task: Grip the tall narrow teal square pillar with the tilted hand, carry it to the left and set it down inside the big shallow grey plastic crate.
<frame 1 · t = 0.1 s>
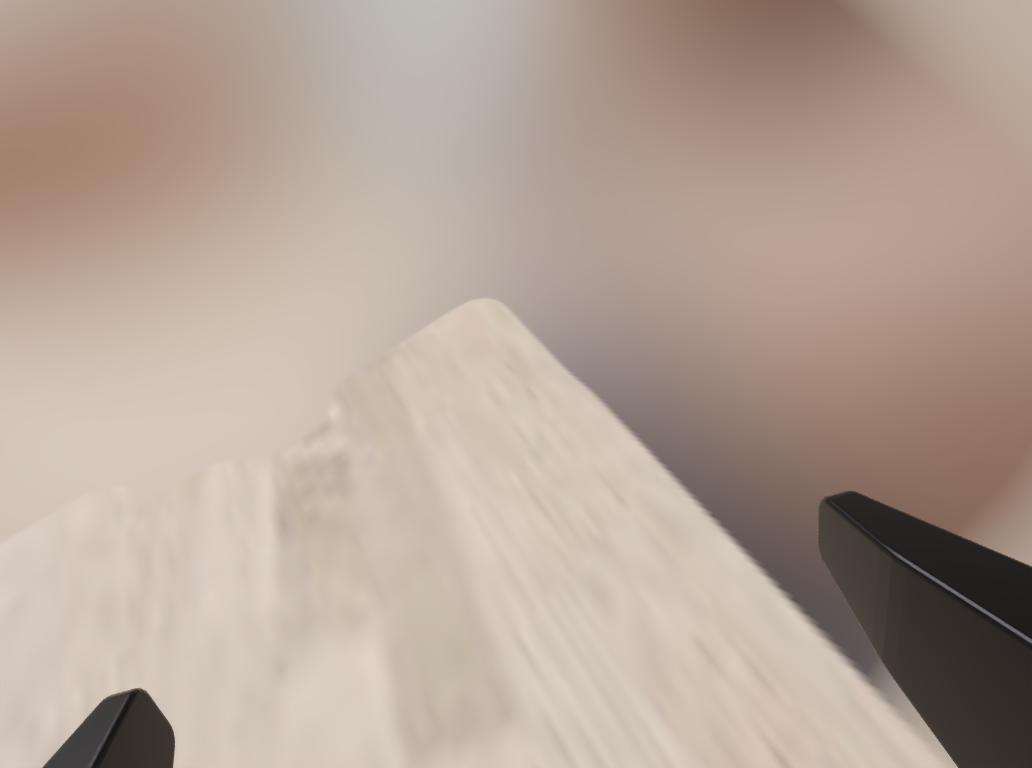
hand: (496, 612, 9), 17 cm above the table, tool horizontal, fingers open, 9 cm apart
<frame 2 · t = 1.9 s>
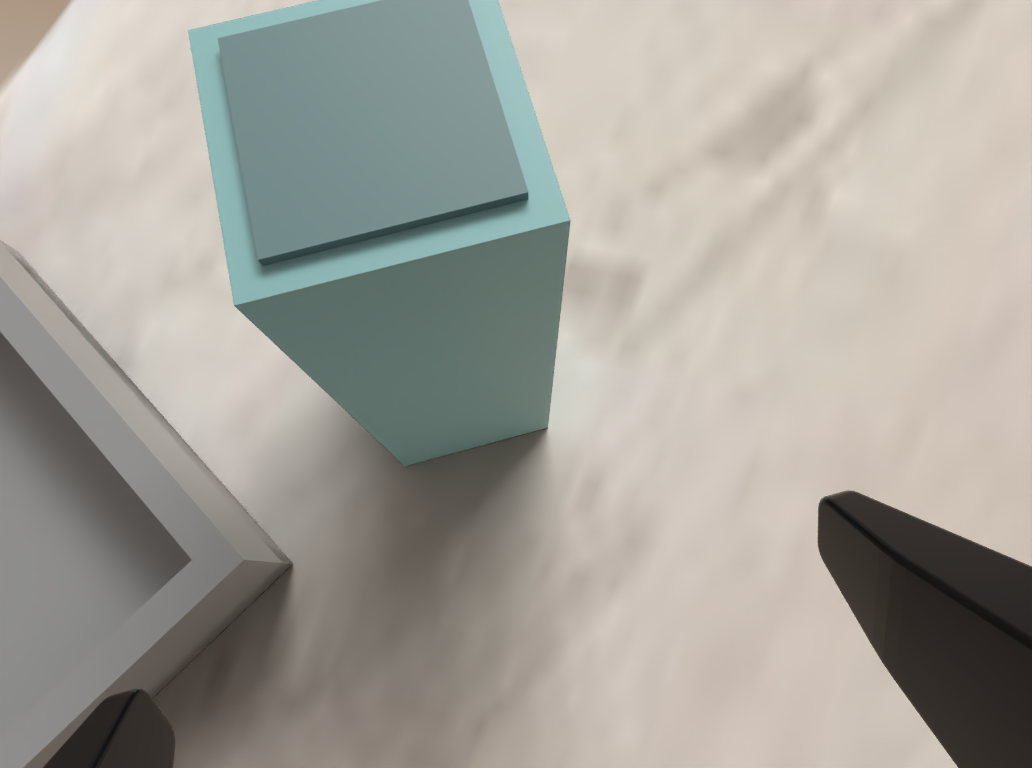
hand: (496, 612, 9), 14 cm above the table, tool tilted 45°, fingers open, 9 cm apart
teal square pillar: (459, 378, 24), on the table
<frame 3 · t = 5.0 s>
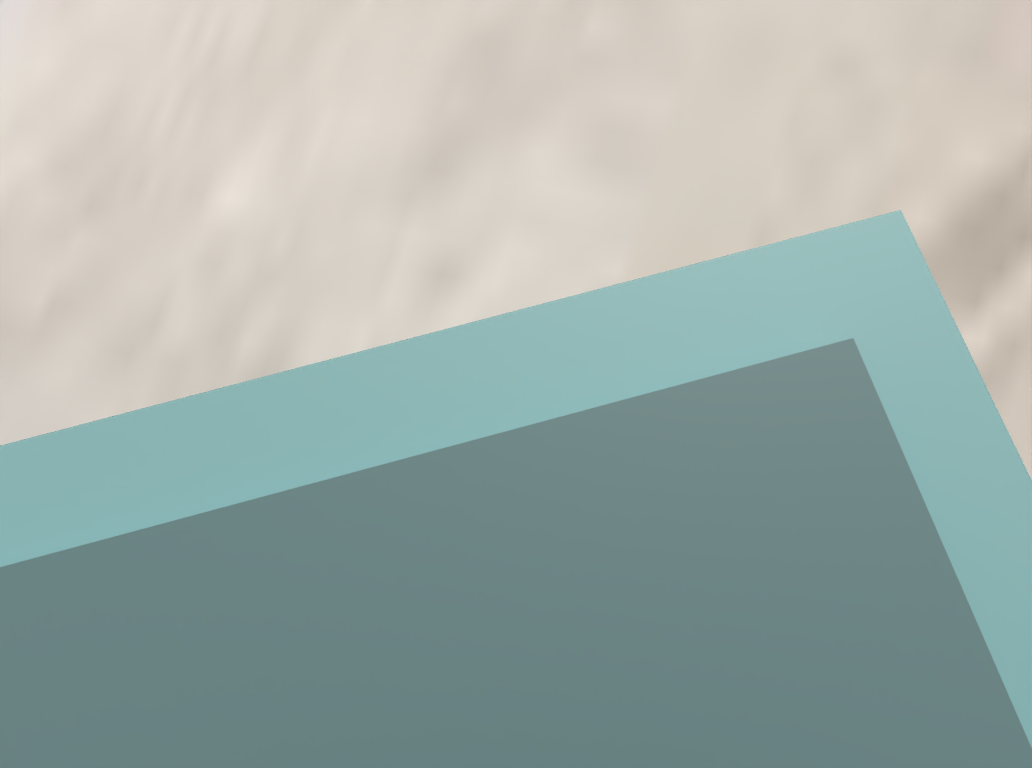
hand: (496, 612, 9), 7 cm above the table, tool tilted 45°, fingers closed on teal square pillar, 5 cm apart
teal square pillar: (527, 662, 15), on the table, touching gripper
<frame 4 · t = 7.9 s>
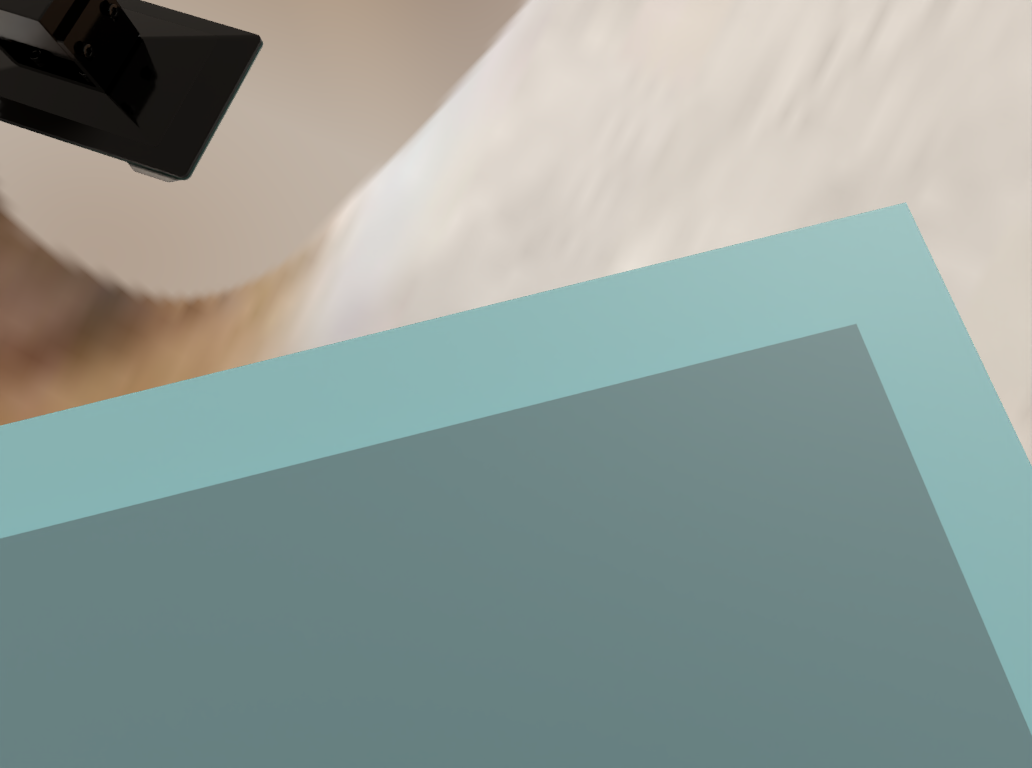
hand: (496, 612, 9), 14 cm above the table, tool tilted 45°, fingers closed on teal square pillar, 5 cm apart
teal square pillar: (535, 665, 15), point 6 cm above the table, touching gripper
build plate: (96, 71, 29), on the table
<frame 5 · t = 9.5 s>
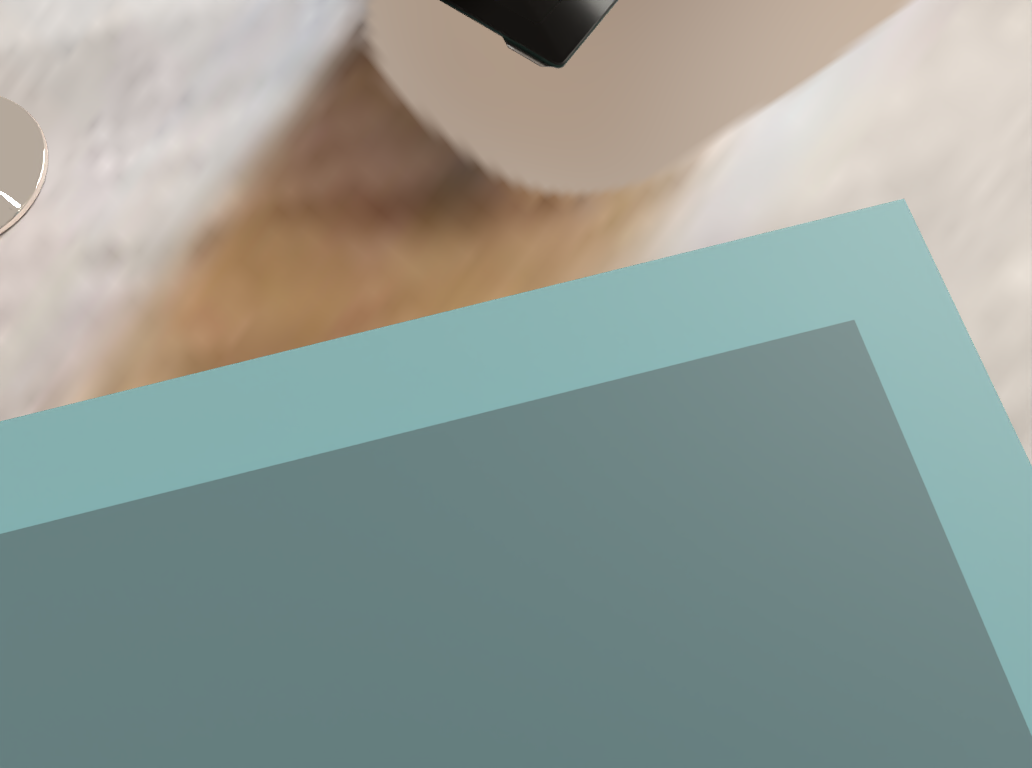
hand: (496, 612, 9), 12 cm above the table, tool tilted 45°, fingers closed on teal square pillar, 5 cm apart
teal square pillar: (534, 664, 15), point 5 cm above the table, touching gripper
when the fingers open (9 cm above the table, at t = 10.7 s): teal square pillar drops 1 cm, resting on grey crate.
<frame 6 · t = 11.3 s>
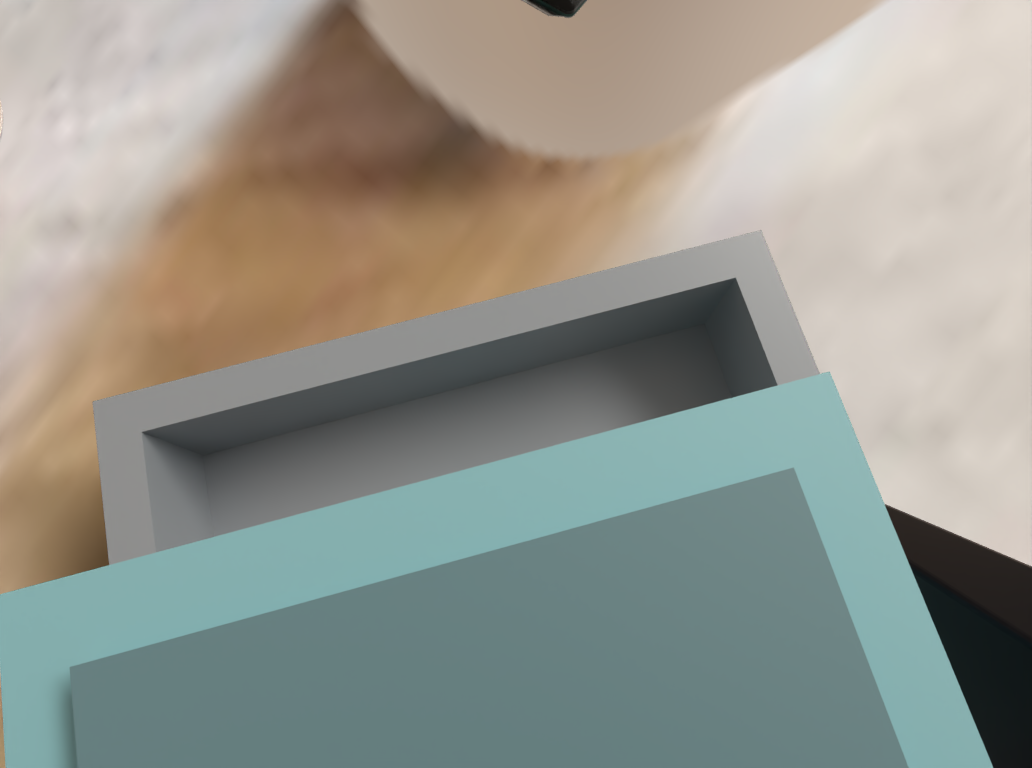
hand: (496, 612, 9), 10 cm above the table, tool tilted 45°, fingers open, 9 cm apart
teal square pillar: (532, 661, 17), point 1 cm above the table, touching grey crate
grey crate: (526, 651, 18), on the table
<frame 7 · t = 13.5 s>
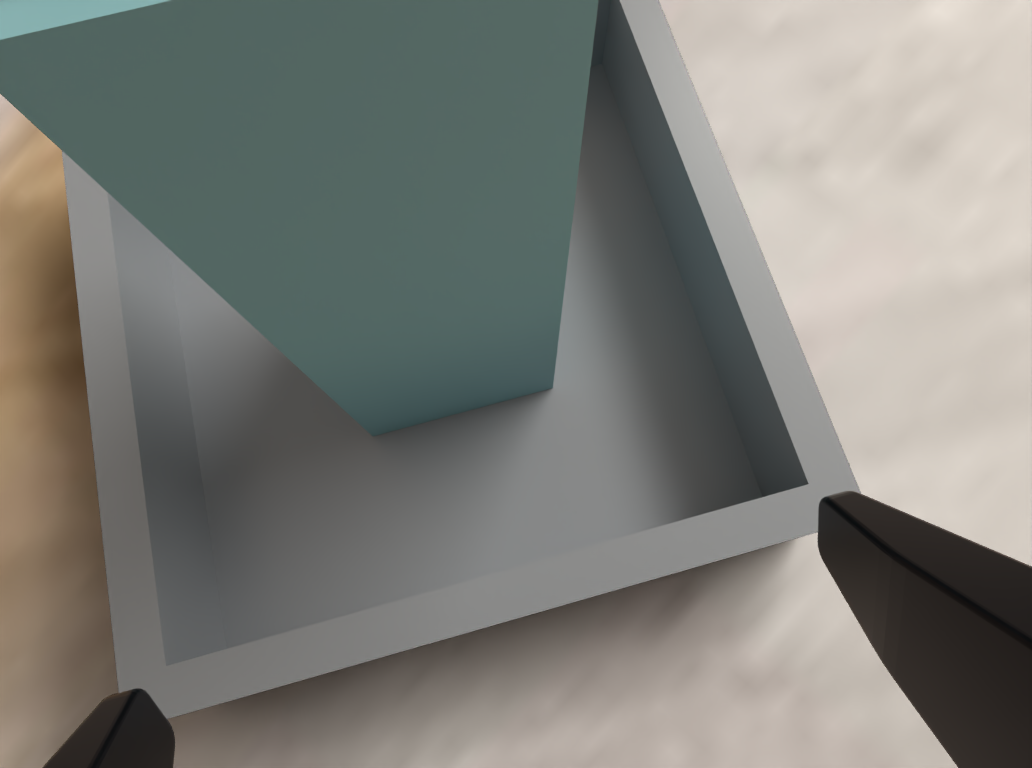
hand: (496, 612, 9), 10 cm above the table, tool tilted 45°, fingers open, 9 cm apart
teal square pillar: (441, 327, 19), point 1 cm above the table, touching grey crate
grey crate: (441, 335, 20), on the table
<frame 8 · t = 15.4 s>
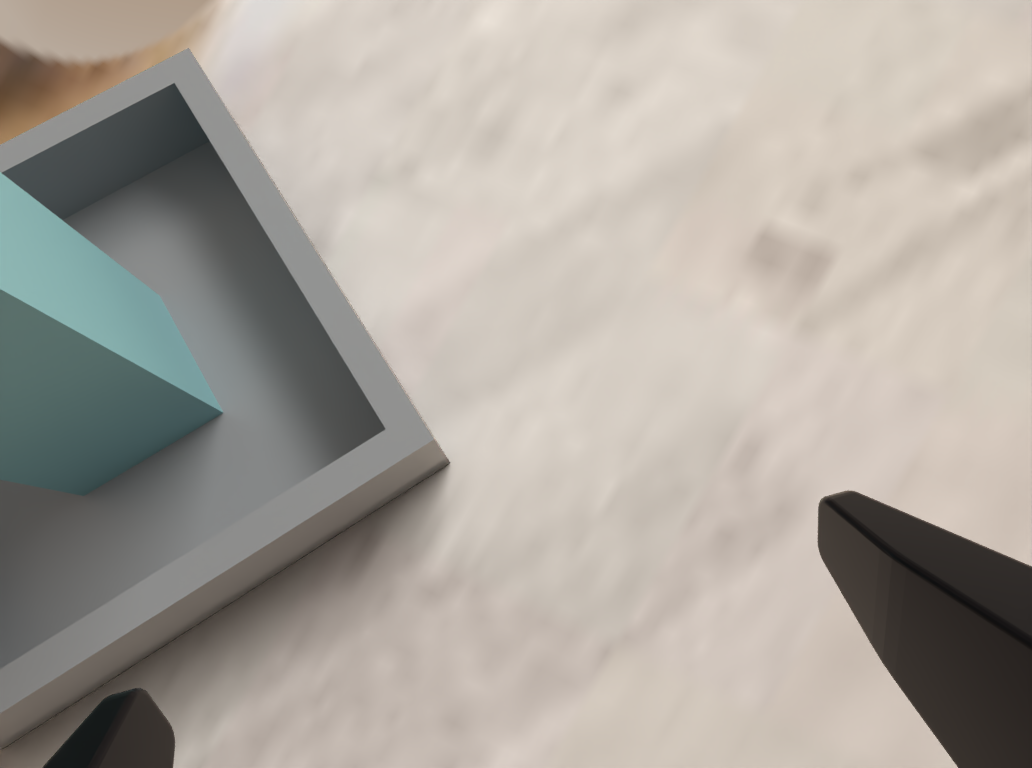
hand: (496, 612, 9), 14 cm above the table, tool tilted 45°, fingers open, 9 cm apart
teal square pillar: (123, 391, 23), point 1 cm above the table, touching grey crate
grey crate: (134, 397, 24), on the table
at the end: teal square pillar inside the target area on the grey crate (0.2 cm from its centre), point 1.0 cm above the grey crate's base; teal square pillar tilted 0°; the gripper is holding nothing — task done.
